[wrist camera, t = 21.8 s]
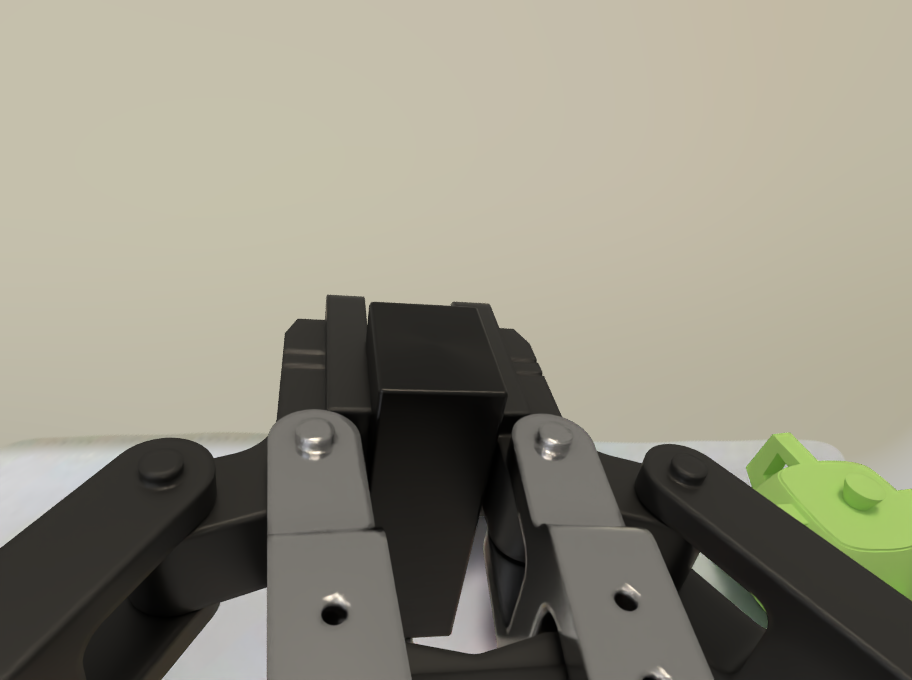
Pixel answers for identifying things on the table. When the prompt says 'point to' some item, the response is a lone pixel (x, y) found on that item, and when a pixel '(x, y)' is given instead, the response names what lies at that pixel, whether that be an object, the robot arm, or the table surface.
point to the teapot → (840, 506)
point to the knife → (430, 449)
